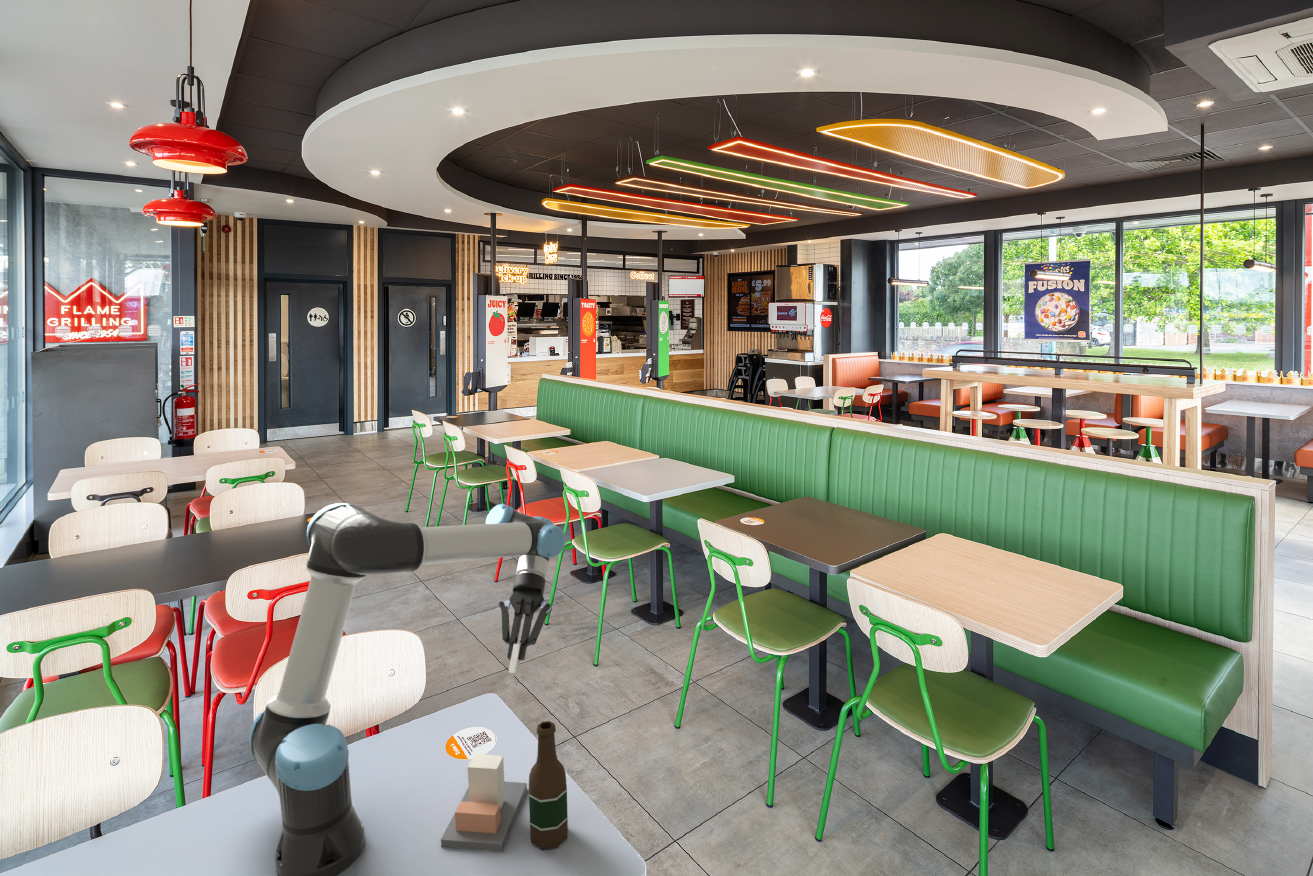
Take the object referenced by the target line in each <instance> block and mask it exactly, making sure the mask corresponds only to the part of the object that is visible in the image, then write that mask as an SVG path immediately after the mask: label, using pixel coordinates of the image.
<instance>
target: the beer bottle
mask: <svg viewBox="0 0 1313 876" xmlns="http://www.w3.org/2000/svg"><path fill="white" fill-rule="evenodd" d="M556 732H557V731H556V725H555V723H554V722H553V721H550V720H547V721H541V722H540V723H539V724H537V727H536V734H537V756H536V762H535V763H534V764H533V766H532V767H531V769H530V772H529V775H528V803H529V804H528V807H529V809H528V810H529V813H528V814H529V834H530V835H529V836H530V843H531V845H533V846H535V847H536V848H538V849H540V850H541V851H546V850H547V851H548V850H555V849H558V848H559V847H560V846H561V845H563V843H564V842H565V841H566V840H567V839H568V833H569V826H568V824H569V822H568V818H569V817H568V788H567V787H568V786H567V776H566V770H565V766H564V765H563V763H561V761H560V760H558V756H557V750H556V737H555V736H556V735H555V733H556Z"/></svg>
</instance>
